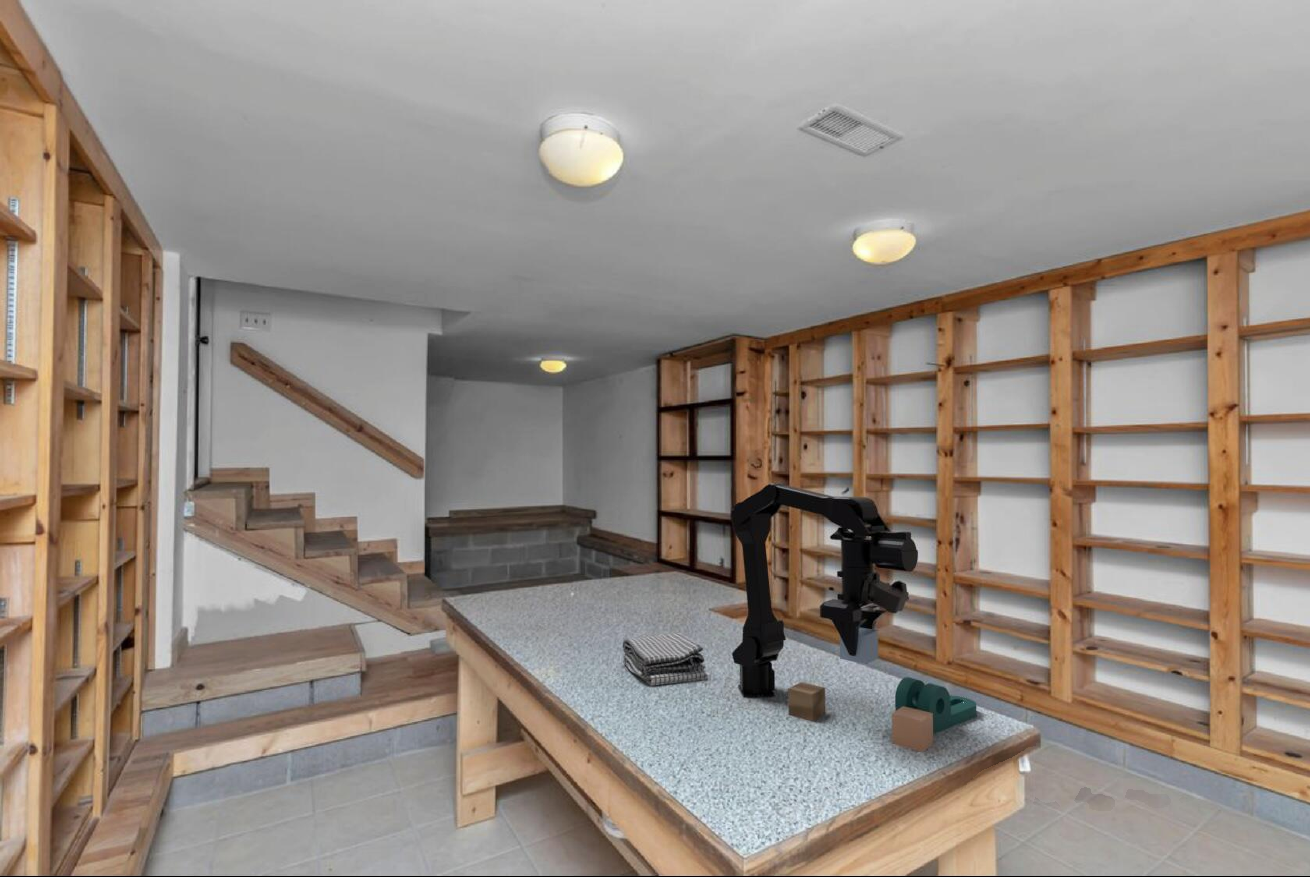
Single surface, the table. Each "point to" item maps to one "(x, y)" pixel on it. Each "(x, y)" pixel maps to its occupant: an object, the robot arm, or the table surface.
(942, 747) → the table surface
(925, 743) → the terracotta cube
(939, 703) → the bracket
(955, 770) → the table surface
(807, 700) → the walnut cube
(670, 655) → the towel
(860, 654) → the blue cube
